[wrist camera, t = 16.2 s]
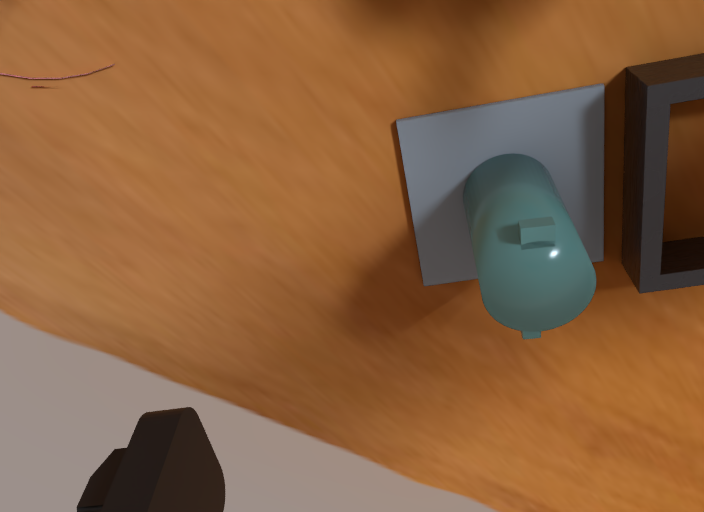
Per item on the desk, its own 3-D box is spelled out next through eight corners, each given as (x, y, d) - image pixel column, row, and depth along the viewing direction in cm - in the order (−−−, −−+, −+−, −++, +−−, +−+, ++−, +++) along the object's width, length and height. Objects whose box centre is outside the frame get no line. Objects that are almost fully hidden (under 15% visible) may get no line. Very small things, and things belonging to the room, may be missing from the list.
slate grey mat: (602, 83, 37) (604, 85, 37) (601, 257, 44) (603, 260, 43) (396, 119, 39) (396, 122, 39) (423, 283, 45) (424, 286, 45)
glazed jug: (459, 147, 39) (477, 233, 31) (554, 135, 39) (599, 220, 30) (467, 264, 44) (486, 367, 36) (553, 256, 43) (592, 358, 35)
